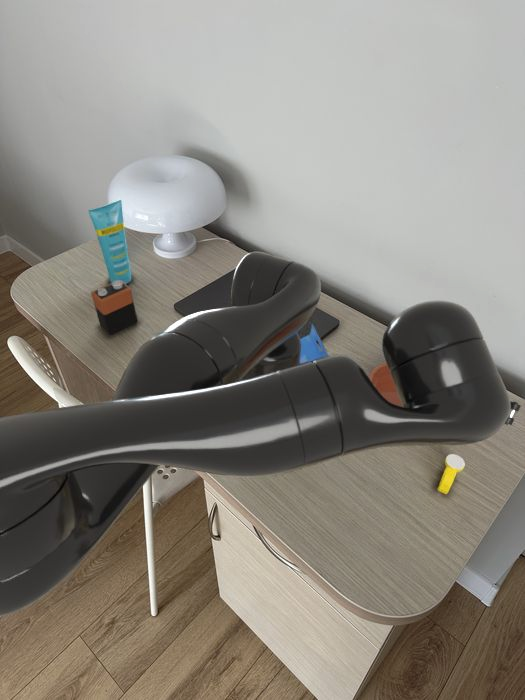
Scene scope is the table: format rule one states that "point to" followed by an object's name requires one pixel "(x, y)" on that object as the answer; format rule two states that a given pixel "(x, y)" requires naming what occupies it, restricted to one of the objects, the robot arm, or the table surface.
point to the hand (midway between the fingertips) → (459, 393)
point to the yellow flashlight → (450, 472)
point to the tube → (112, 240)
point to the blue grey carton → (311, 347)
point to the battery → (114, 307)
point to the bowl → (385, 384)
